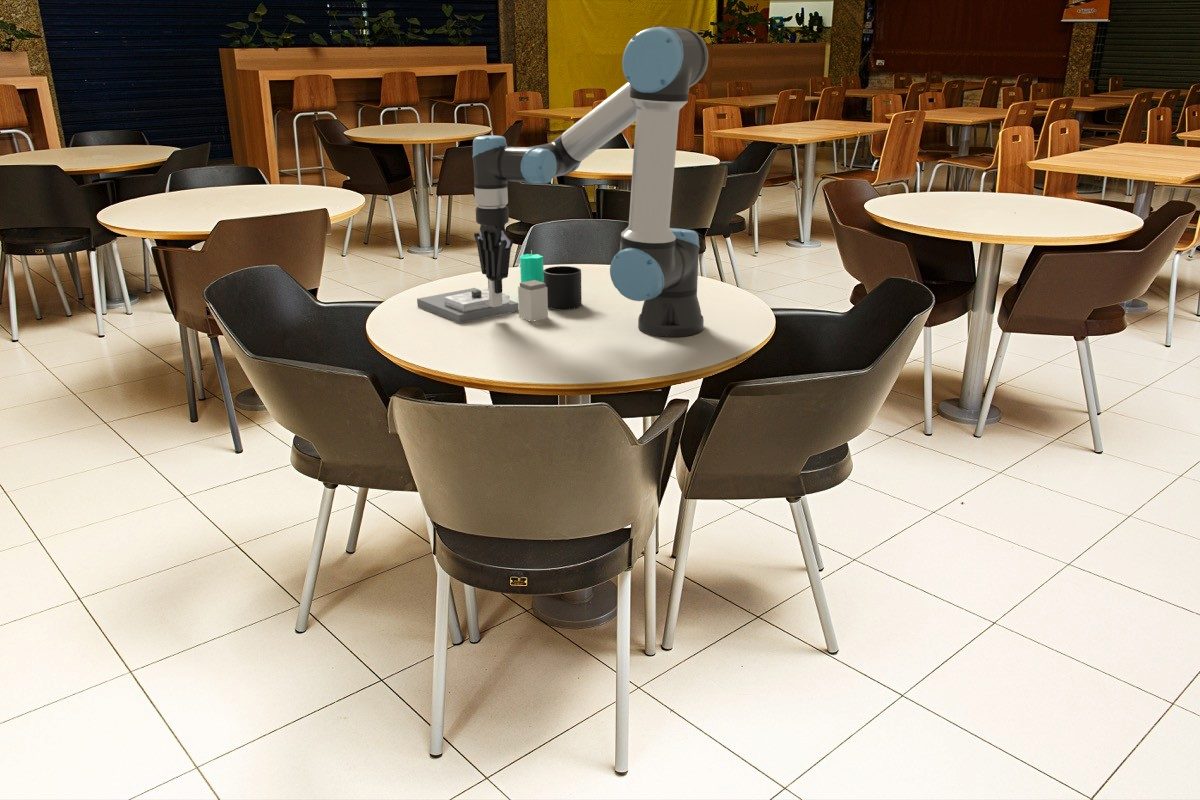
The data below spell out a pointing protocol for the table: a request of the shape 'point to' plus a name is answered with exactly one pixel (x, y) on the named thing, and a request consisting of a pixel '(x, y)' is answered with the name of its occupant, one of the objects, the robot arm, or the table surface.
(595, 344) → the table surface
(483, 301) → the panel
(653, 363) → the table surface
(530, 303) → the plug
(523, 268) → the candle
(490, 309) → the grey flat frame
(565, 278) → the mug
